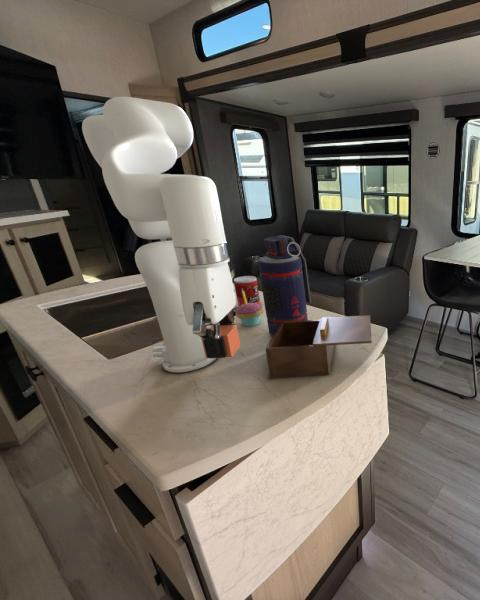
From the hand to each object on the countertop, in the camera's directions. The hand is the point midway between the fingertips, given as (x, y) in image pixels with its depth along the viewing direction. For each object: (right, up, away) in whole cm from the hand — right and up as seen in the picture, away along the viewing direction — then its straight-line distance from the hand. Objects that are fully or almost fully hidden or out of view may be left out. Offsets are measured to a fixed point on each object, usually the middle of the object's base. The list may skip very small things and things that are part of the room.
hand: (223, 348), depth 60 cm
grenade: (-1, -1, +42) cm, 42 cm away
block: (0, -1, 0) cm, 1 cm away
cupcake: (-17, +1, +47) cm, 50 cm away
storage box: (+8, -7, +25) cm, 27 cm away
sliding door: (+19, +1, +24) cm, 30 cm away
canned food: (-25, +7, +63) cm, 68 cm away
